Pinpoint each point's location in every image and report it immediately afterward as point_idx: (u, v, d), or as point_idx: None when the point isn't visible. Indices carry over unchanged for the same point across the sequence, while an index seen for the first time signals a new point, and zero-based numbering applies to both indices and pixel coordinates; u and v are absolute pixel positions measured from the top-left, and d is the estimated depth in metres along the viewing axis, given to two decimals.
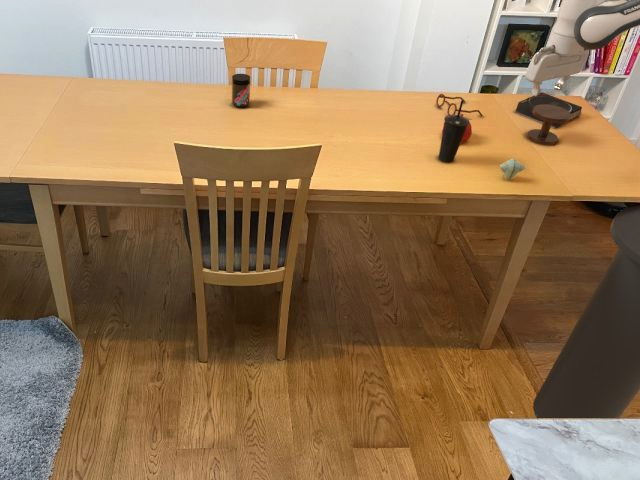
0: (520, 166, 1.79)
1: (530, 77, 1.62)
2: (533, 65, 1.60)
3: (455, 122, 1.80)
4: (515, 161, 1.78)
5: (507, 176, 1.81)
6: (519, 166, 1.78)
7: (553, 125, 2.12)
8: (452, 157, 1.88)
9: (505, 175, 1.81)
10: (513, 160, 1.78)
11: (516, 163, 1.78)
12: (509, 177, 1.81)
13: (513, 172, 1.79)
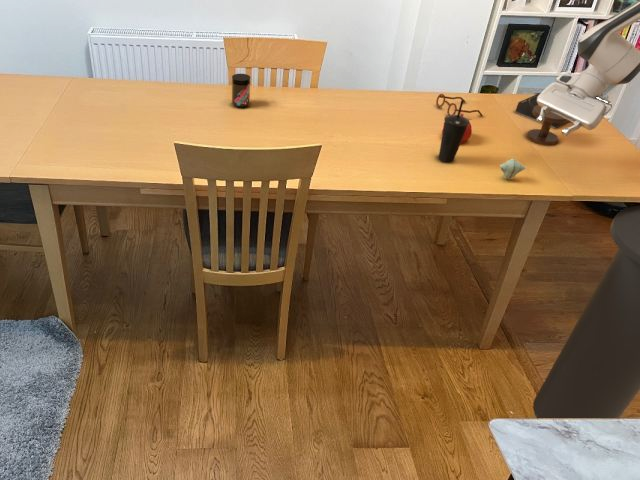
0: (520, 166, 1.79)
1: (594, 126, 1.70)
2: (601, 115, 1.70)
3: (455, 122, 1.80)
4: (515, 161, 1.78)
5: (507, 176, 1.81)
6: (519, 166, 1.78)
7: (553, 125, 2.12)
8: (452, 157, 1.88)
9: (505, 175, 1.81)
10: (513, 160, 1.78)
11: (516, 163, 1.78)
12: (509, 177, 1.81)
13: (513, 172, 1.79)
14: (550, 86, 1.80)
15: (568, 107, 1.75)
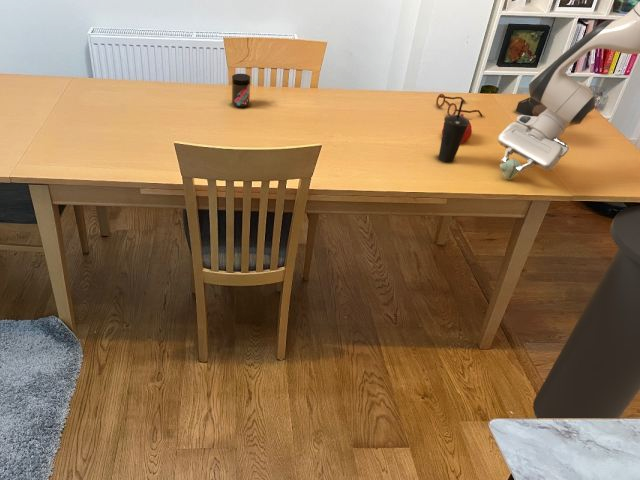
0: None
1: (551, 167, 1.72)
2: (558, 157, 1.72)
3: (455, 122, 1.80)
4: (515, 161, 1.78)
5: (507, 176, 1.81)
6: None
7: None
8: (452, 157, 1.88)
9: (505, 175, 1.81)
10: (513, 160, 1.79)
11: (516, 163, 1.78)
12: (509, 177, 1.81)
13: (513, 172, 1.79)
14: (510, 125, 1.82)
15: (526, 147, 1.77)
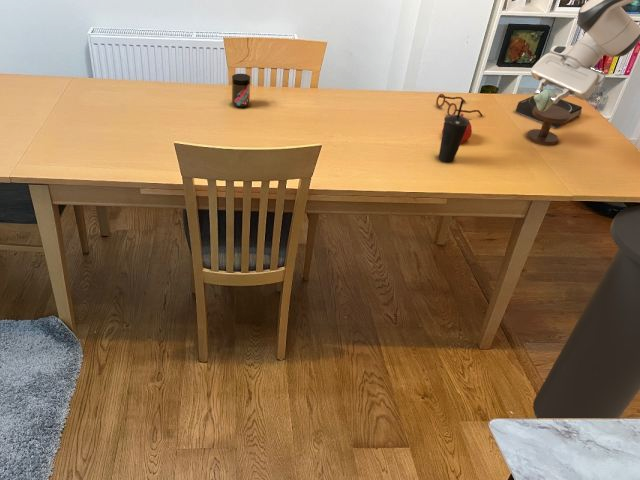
0: None
1: (587, 95, 1.71)
2: (594, 85, 1.70)
3: (455, 122, 1.80)
4: (549, 91, 1.77)
5: (541, 107, 1.79)
6: None
7: (553, 125, 2.12)
8: (452, 157, 1.88)
9: (539, 106, 1.79)
10: (547, 90, 1.77)
11: (550, 93, 1.77)
12: (543, 108, 1.79)
13: (548, 102, 1.78)
14: (544, 57, 1.80)
15: (562, 77, 1.75)
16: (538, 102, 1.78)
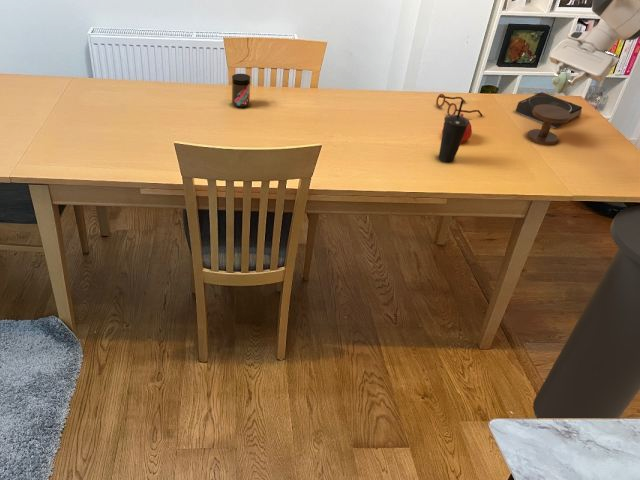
0: None
1: (602, 77, 1.83)
2: (609, 67, 1.83)
3: (455, 122, 1.80)
4: (567, 74, 1.89)
5: (559, 89, 1.92)
6: (570, 78, 1.89)
7: (553, 125, 2.12)
8: (452, 157, 1.88)
9: (557, 88, 1.92)
10: (565, 73, 1.90)
11: (568, 75, 1.89)
12: (561, 90, 1.92)
13: (565, 84, 1.90)
14: (562, 42, 1.93)
15: (578, 60, 1.88)
16: (556, 84, 1.91)
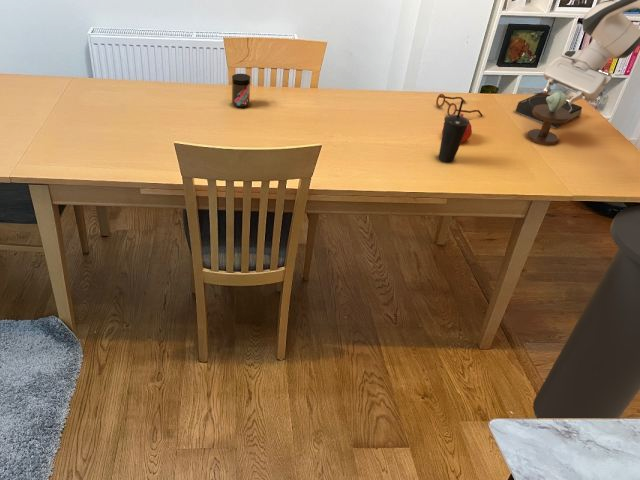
0: (565, 98, 1.94)
1: (595, 95, 1.88)
2: (601, 86, 1.87)
3: (455, 122, 1.80)
4: (560, 93, 1.94)
5: (552, 108, 1.97)
6: (564, 98, 1.94)
7: (553, 125, 2.12)
8: (452, 157, 1.88)
9: (551, 107, 1.97)
10: (559, 92, 1.94)
11: (561, 95, 1.94)
12: (554, 109, 1.97)
13: (559, 104, 1.95)
14: (556, 60, 1.97)
15: (572, 78, 1.92)
16: (550, 103, 1.96)
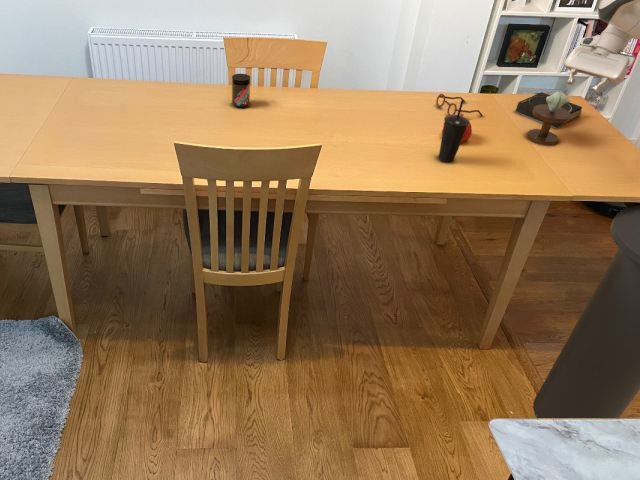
0: (565, 98, 1.94)
1: (621, 78, 1.86)
2: (626, 68, 1.85)
3: (455, 122, 1.80)
4: (560, 93, 1.94)
5: (552, 108, 1.97)
6: (564, 98, 1.94)
7: (553, 125, 2.12)
8: (452, 157, 1.88)
9: (551, 107, 1.97)
10: (559, 92, 1.94)
11: (561, 95, 1.94)
12: (554, 109, 1.97)
13: (559, 104, 1.95)
14: (575, 50, 1.96)
15: (594, 66, 1.91)
16: (550, 103, 1.96)
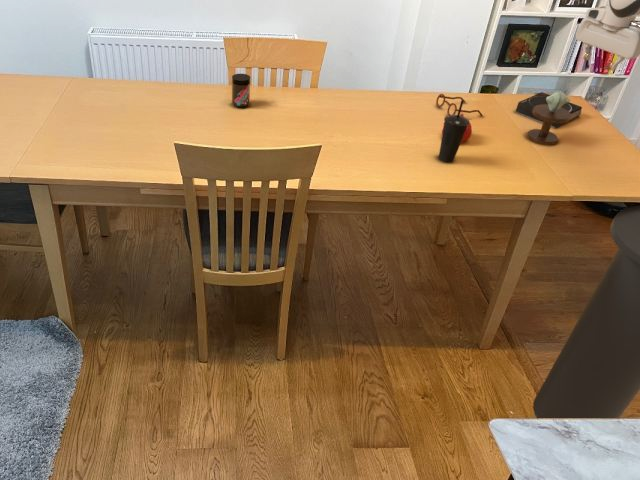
0: (565, 98, 1.94)
1: (637, 55, 1.70)
2: None
3: (455, 122, 1.80)
4: (560, 93, 1.94)
5: (552, 108, 1.97)
6: (564, 98, 1.94)
7: (553, 125, 2.12)
8: (452, 157, 1.88)
9: (551, 107, 1.97)
10: (559, 92, 1.94)
11: (561, 95, 1.94)
12: (554, 109, 1.97)
13: (559, 104, 1.95)
14: (582, 23, 1.79)
15: (606, 42, 1.75)
16: (550, 103, 1.96)
